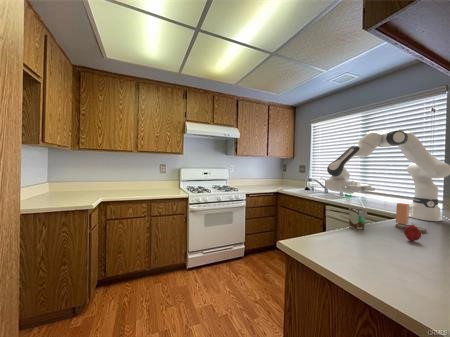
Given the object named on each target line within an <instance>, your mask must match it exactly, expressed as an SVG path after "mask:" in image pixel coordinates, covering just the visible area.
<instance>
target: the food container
mask: <svg viewBox="0 0 450 337" xmlns="http://www.w3.org/2000/svg"><path fill="white" fill-rule="evenodd" d="M367 216H368V212H367V210H365V209H363V208H356V207H350V206H349V208H348V225H349V226H350V227H351V228H353V227H354V228H353V229H354V230H356V231H358V230H361V231H365V230H364V229H365V224H366V217H367Z"/></svg>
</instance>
